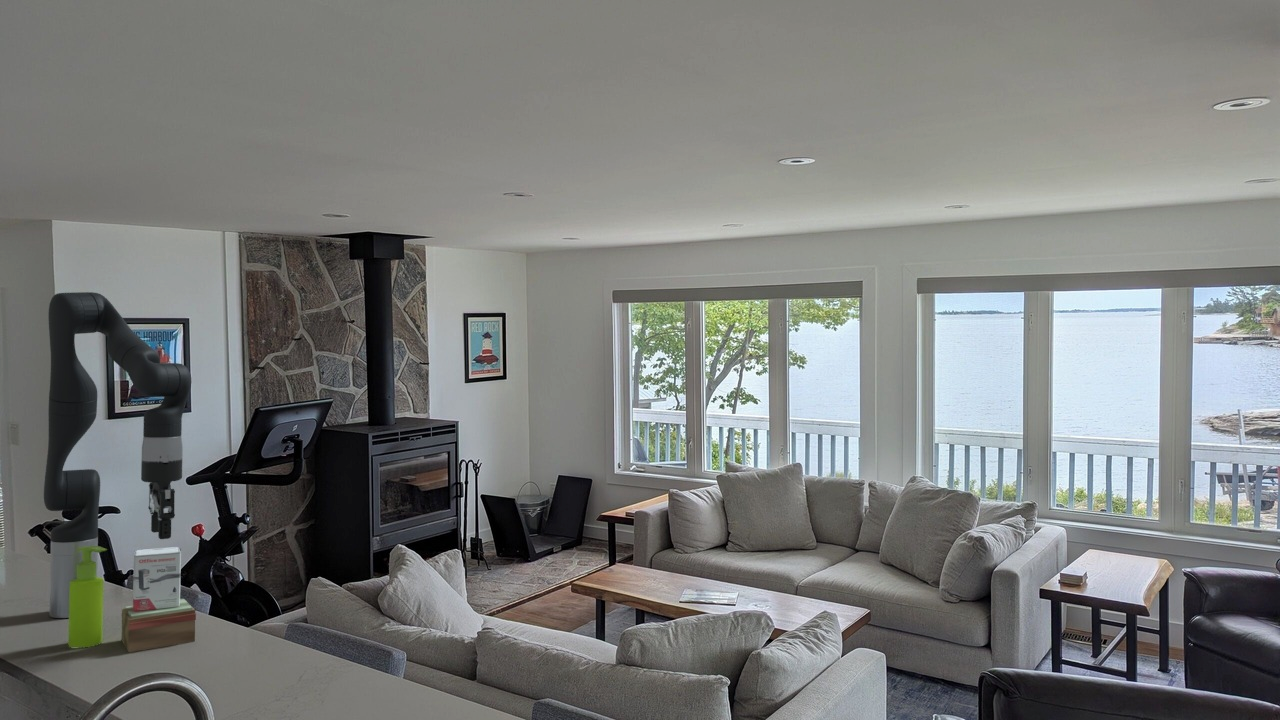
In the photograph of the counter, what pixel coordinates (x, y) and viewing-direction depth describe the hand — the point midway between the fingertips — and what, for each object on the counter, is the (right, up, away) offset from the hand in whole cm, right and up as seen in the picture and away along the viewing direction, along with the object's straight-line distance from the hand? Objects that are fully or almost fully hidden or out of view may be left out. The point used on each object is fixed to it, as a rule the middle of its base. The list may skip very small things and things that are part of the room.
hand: (160, 535), depth 180 cm
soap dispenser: (-13, -22, -3) cm, 26 cm away
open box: (0, -22, -1) cm, 22 cm away
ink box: (-1, -15, 0) cm, 15 cm away
